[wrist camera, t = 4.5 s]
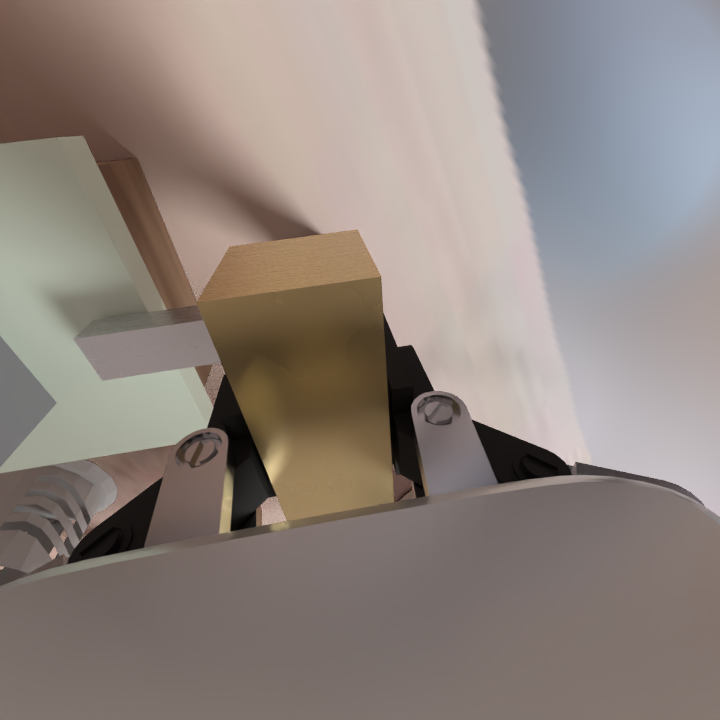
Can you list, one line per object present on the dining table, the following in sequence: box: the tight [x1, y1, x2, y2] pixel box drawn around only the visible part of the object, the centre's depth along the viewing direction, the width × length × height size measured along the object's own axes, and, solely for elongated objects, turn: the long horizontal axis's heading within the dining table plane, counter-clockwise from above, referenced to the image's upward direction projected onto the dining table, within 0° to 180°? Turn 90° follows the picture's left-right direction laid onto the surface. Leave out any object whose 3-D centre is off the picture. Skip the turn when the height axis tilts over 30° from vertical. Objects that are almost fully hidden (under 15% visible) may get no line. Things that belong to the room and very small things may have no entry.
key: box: [73, 230, 394, 521], centre depth 14 cm, size 10×9×16 cm
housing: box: [97, 158, 213, 386], centre depth 18 cm, size 14×12×6 cm
